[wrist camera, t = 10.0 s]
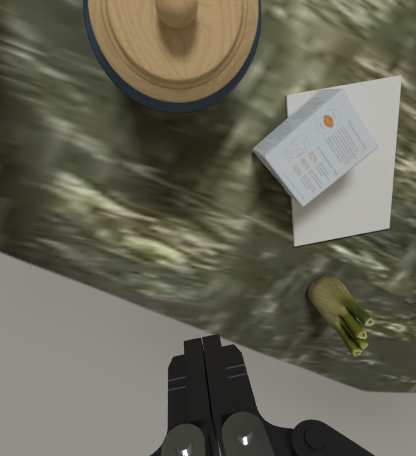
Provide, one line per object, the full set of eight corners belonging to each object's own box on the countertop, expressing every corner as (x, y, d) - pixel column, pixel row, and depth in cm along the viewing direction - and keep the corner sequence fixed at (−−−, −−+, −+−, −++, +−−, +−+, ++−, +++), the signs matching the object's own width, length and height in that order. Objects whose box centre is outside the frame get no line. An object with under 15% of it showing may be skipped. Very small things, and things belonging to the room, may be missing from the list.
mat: (285, 95, 37) (286, 95, 37) (399, 75, 38) (401, 75, 37) (293, 245, 45) (294, 246, 45) (387, 227, 46) (389, 228, 45)
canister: (219, 118, 37) (258, 134, 21) (107, 96, 35) (53, 96, 19) (244, -12, 33) (317, -118, 17) (116, -47, 31) (56, -208, 14)
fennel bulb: (323, 264, 47) (369, 316, 36) (345, 280, 49) (396, 333, 38) (297, 292, 48) (334, 350, 37) (319, 306, 50) (361, 366, 39)
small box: (286, 195, 42) (353, 141, 40) (303, 208, 37) (380, 147, 35) (250, 148, 39) (321, 87, 37) (262, 156, 34) (345, 86, 32)
